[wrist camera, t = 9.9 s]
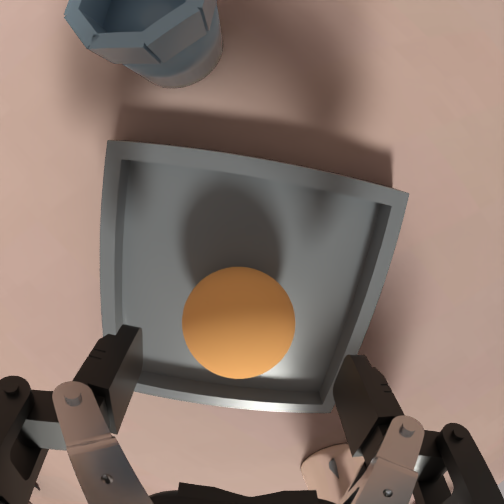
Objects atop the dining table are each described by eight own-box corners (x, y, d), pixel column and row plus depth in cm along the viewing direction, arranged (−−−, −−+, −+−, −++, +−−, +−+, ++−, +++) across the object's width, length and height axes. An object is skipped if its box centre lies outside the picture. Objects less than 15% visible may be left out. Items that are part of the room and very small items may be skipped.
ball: (297, 259, 16) (319, 309, 11) (276, 342, 17) (286, 406, 12) (196, 243, 15) (176, 288, 10) (186, 330, 17) (170, 392, 12)
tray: (392, 187, 15) (409, 193, 13) (324, 394, 19) (330, 413, 18) (121, 140, 14) (107, 140, 12) (116, 367, 18) (108, 385, 17)
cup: (231, 14, 12) (225, -66, 5) (214, 92, 13) (191, 49, 7) (146, 10, 12) (93, -57, 5) (127, 85, 13) (52, 53, 6)
